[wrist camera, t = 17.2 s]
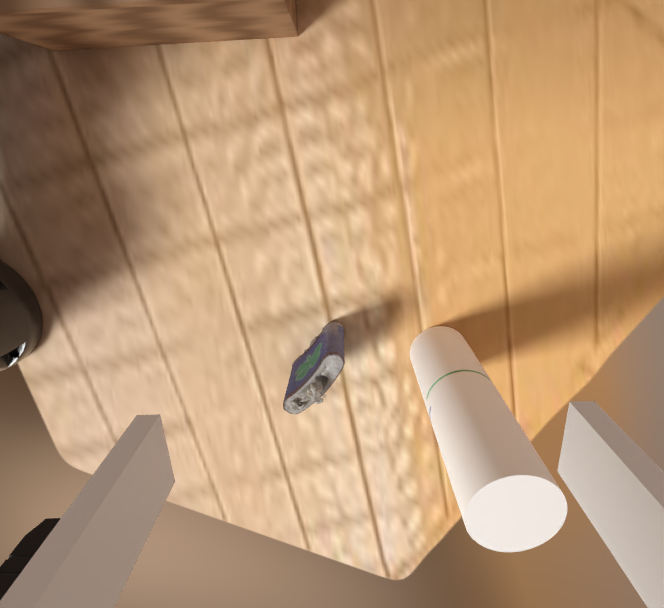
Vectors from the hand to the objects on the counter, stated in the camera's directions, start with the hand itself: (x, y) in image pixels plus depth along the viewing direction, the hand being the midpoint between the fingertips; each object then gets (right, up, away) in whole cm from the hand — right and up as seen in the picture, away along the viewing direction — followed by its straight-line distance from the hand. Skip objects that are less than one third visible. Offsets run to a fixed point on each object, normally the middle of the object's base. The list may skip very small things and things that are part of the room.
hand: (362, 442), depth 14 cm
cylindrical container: (+12, -1, +40) cm, 42 cm away
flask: (-3, -1, +40) cm, 40 cm away
